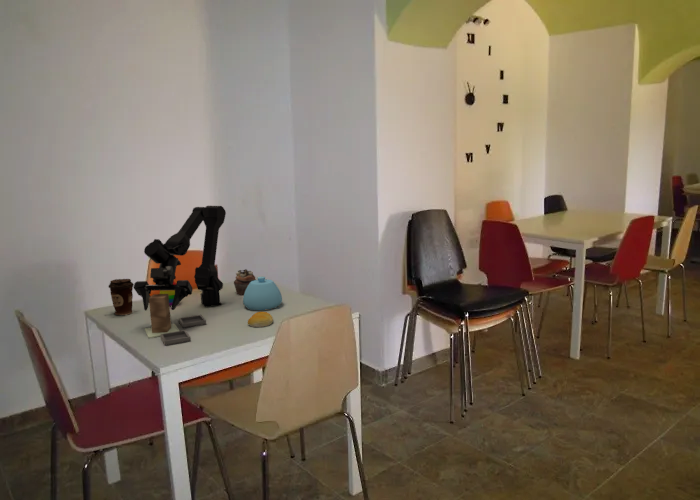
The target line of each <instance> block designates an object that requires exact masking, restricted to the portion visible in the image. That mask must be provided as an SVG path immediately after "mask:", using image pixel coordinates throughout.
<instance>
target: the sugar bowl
mask: <svg viewBox="0 0 700 500" xmlns="http://www.w3.org/2000/svg"><path fill="white" fill-rule="evenodd" d="M282 302H283V296H282V293H281V290H280V289H279V287H278V286H277V284H276V283H275V281H274V280H272V279H268V278H267V279H266V276H258V277H257V279H256V280H254V281H251V282H250V283H249V285H248V287H247V289H246V291H245V293H244V295H243V297H242V304H243V305H244V306H245V307H246V308H247V309H248V310H250V309H251V310H250V311H257V310H261V311H266V310H265V309H270V310H272V309H271V308H274V309H276V308H278V307H279V306H280V305H281V304H282ZM277 306H278V307H277ZM275 307H276V308H275Z"/></svg>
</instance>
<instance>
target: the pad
mask: <svg viewBox="0 0 700 500" xmlns="http://www.w3.org/2000/svg"><path fill="white" fill-rule="evenodd" d="M176 331H180V330H179V328H178V327H177V325H176V324H175V323H171V329H170V330H169V331H168V332H163V333H152V327H147V328H144V332H145V334H146V335H147V338H148V339H153V338H159V337H160V338H161V334H164V333H170V332H176Z"/></svg>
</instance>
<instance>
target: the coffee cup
mask: <svg viewBox="0 0 700 500" xmlns="http://www.w3.org/2000/svg"><path fill="white" fill-rule="evenodd" d="M134 284H135V283H134V282H133V281H132V279H131V278H118V279H117V278H116V279H111V280H110V282H109V284H108V286H107V287H108V288H109V291H110V296H111V298H110V299H111V301H112V306H113V307H114V310H115V311H114V314H115V315H117V316H126V315H132V314H133V312H134V311H133V297H134V295H133V290H134V288H133V287H134Z"/></svg>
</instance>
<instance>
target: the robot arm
mask: <svg viewBox="0 0 700 500" xmlns="http://www.w3.org/2000/svg"><path fill="white" fill-rule="evenodd" d="M226 214H227V213H226V210H225V208H224V207H223V206H222V205H206V206H205V207H204V206H195V207H193V208H192V212H191V214H190V215H189V216H188V218H187V219H186V220H185V222H184V223H183V225H182V226H181V228H180V229H179V230H178V232H176V233H174V234H173V235H171V236H170V237H169V238H168V239H166V241H165V243H163V242H162V241H161V240H160V239H157V238H154V240H153V241H151V242H150V243H148V244H147V245H146V246H145V247H144V251H143V252H144V254H145V255H146V256H147V257H148V258H149V259H150V260H151V261H153V262H154V263H155V264H158V265H159V267H151V268H150V275H149V278H150V279H152V282H153V283H155V284H150V283H148V281H147V280H140V281H139V280H138V281H135V282H134V283H133V284H134V285H133V290H134V291H135V292H136V294H137V295H138V296H140V297H141V298H142V303H143V310H144V311H148V308H149V298H150V297H151V296H152V295H151V293H152V291H153V292H154V291H160V290H175V295H174V299H173V303H172V306H171V310H172V311H174V310H175V309H176V307H178V305H179V303H181V302H182V301H183V300H184V298H185V297H188V295H189V296H190V295H192V294H193V286H192V284H191V282H190V281H189V279H183V280H181V279H180V280H179V279H178V280H177V281H176V282H175V280H176V279H177V277H176V270H177V266H181V265H182V263H181V261H180V260H179V258H178V257H177V256H179V257H180V256H185V255H186V254H187V253H188V250H189V248H190V246H191V239H192V237H193V236H194V234H195V233H196V232H197V230H198V228H199V227H200V225H201V224H202V223H204V226H205V234H204V241H203V242H204V243H203V250H202V258H201V264H200V265H199V266H198V267H197V266H196V267H195V269H194V276H193V279H194V283H195V285H196V288H197V290H198V291H200V290H202V291H201V293H200V304H201V305H202V306H203V307H204V308H208V307H216V306H222V302H221V297H220V295H221V294H220V291H222V289H223V287H224V283H223V281H222V280H220V278H219V271H218V272H217V269H216V267H215V264H216V256H217V249H218V240H219V232H220V229H221V227H222V226H223V224H224V222H225V219H226ZM173 282H175V283H176V284H173Z"/></svg>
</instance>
